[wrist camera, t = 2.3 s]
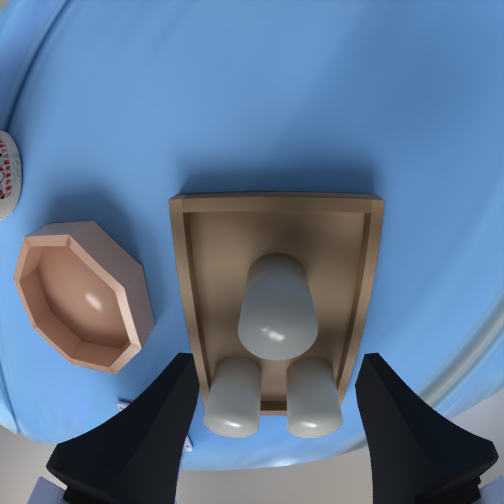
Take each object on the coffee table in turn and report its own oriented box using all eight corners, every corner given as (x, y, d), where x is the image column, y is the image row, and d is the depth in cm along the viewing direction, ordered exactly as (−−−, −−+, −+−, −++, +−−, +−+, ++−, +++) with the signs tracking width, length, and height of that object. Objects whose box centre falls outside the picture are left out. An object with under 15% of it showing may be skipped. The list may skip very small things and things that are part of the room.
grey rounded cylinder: (304, 305, 19) (313, 359, 14) (247, 305, 20) (239, 359, 14) (308, 252, 18) (322, 298, 13) (245, 252, 18) (235, 297, 13)
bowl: (164, 356, 23) (153, 381, 20) (61, 338, 24) (46, 356, 21) (134, 217, 18) (112, 232, 15) (24, 225, 19) (1, 237, 16)
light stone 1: (262, 388, 23) (259, 438, 18) (217, 385, 23) (207, 435, 18) (262, 356, 21) (259, 411, 16) (212, 354, 22) (199, 407, 17)
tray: (336, 398, 24) (338, 412, 22) (208, 397, 25) (205, 411, 23) (374, 194, 17) (384, 200, 15) (177, 193, 17) (168, 199, 16)
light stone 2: (328, 386, 22) (336, 435, 17) (284, 388, 23) (285, 438, 18) (336, 355, 21) (348, 407, 16) (287, 356, 21) (289, 411, 16)
